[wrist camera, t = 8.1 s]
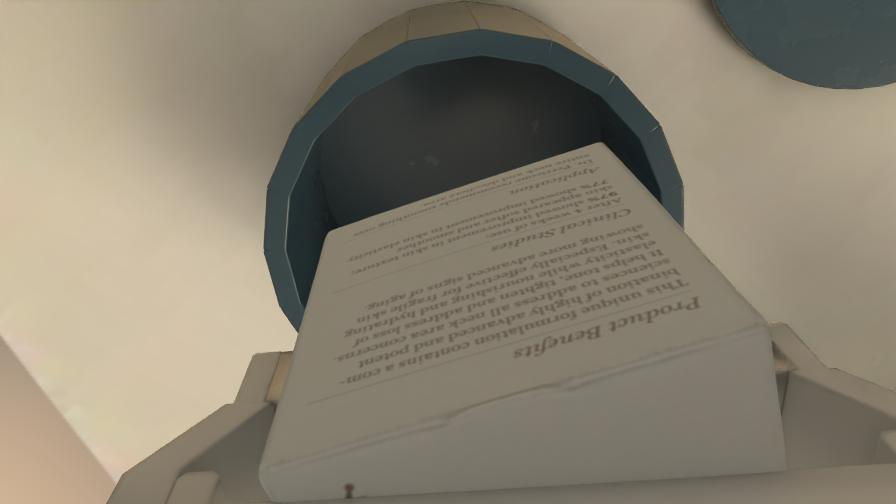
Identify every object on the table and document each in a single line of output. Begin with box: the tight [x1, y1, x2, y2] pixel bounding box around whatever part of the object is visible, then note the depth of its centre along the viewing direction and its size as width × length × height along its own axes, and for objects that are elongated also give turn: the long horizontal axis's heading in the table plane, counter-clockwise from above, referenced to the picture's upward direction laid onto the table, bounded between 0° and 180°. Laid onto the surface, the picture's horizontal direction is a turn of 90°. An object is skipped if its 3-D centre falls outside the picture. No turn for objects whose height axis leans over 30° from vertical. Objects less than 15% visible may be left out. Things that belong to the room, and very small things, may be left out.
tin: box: [264, 1, 684, 333], centre depth 29 cm, size 15×15×10 cm
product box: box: [258, 142, 789, 502], centre depth 12 cm, size 6×6×7 cm
